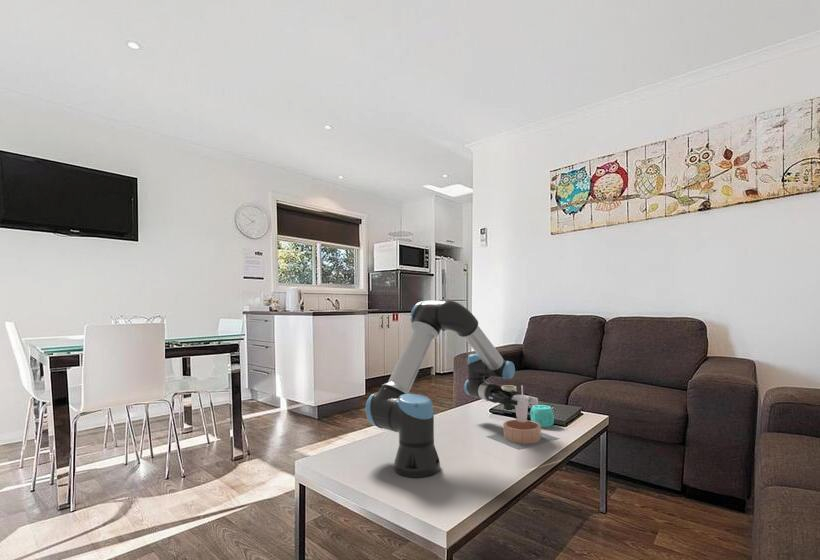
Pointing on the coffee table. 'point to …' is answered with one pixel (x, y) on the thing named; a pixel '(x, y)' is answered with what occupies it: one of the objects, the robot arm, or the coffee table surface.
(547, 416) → the decorative dice
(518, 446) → the mat
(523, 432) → the bowl
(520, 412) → the smoothie
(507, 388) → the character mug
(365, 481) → the coffee table surface
